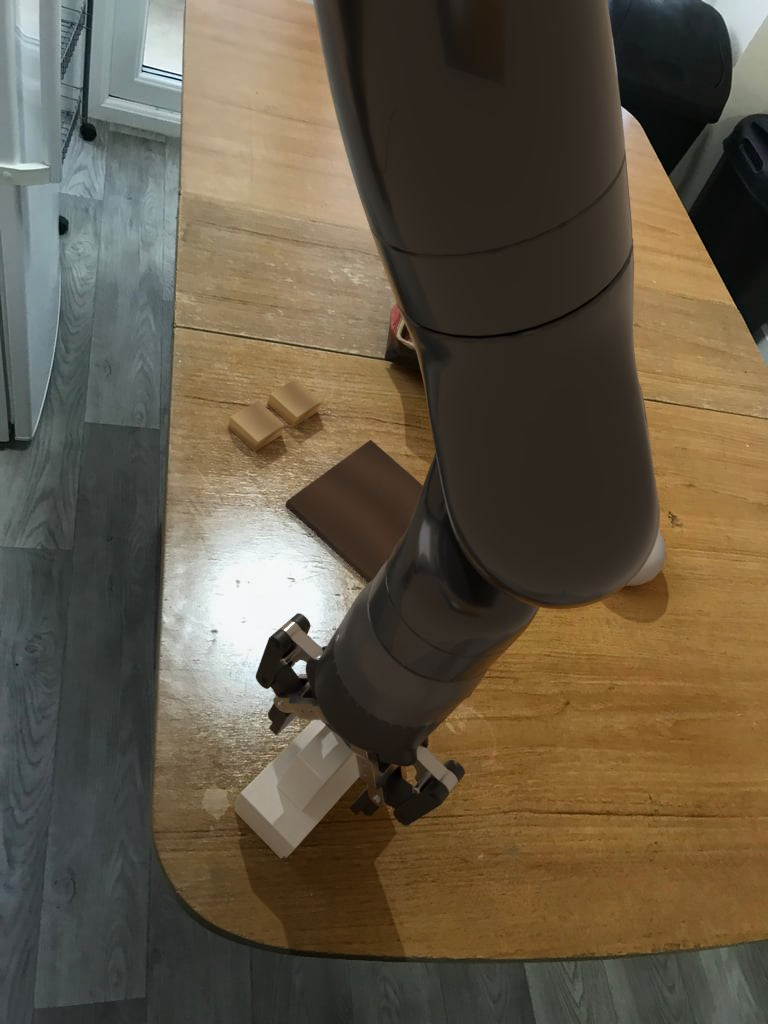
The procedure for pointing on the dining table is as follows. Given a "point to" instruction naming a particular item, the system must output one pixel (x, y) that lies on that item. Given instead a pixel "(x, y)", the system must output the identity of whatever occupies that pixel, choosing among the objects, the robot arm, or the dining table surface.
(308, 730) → the white stepped wedge block
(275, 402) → the tan square slab
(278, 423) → the tan flat square block
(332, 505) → the board
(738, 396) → the dining table surface
